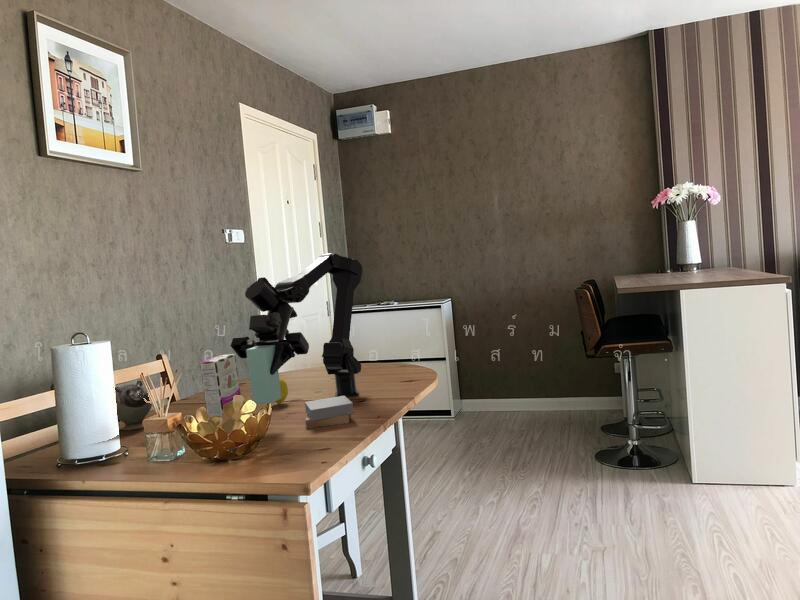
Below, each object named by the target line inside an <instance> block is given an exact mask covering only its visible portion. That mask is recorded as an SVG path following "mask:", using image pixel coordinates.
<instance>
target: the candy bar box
mask: <svg viewBox="0 0 800 600" xmlns="http://www.w3.org/2000/svg"><path fill="white" fill-rule="evenodd" d="M199 367H200V373H201V381H202V382H201V383H202V387H203V393H204V402H205V408H206V413H207V412H208V414H209V417H213V416H222V415H223V405H224V404H226V403H230V402H232V400H233V396H234V395H242V394H241V388H240V379H239V374H238V368H237V367H238V366H237V359H236V353H228V354H227V353H226V354H221V355H220V354H219V355H217V356H214V357H211V358H209V359H206V360H204V361H201V362H200V363H199Z"/></svg>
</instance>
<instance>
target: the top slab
mask: <svg viewBox="0 0 800 600" xmlns="http://www.w3.org/2000/svg"><path fill="white" fill-rule="evenodd" d="M304 405H305V406H304V407H305V413H306V414H308V416H309V417H310V418H311V420H312V421H313V420H319V419H325V418H330V417H336V416H342V415H348V414H349V415H352V414H355V412H354V403H353V401H351V400H350V399H349V398H348V396H339V397H335V396H333V397H327V398H322V399H316V400H315V399H314V400H310V401H304Z"/></svg>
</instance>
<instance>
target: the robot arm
mask: <svg viewBox="0 0 800 600" xmlns="http://www.w3.org/2000/svg"><path fill="white" fill-rule="evenodd" d="M326 274H330V275H332V281H333V284H334V286H335V287H336V288H335V289H336V294H335V305H334V314H333V322H332V323H333V324H332V332H331V338H330V339H329V341H328V342H324V343H323V346H322V348H323V352H322V355H321V357H322V363H323V365H324V367H325V370H326V372H327V375H328V376H329V375H334V381H335V382H334V383H335V390H336V391H335V393H334V394H335V395H334V397H339V396H345V397H352V396H358V395H359V388H357V384H356V376H355V375H356V374H357V375H358V374H359V373H361V371H362V363H360V361H359V360H358V359H357V358H356V357H355V355H354V354H355V352H354V350H355V349H354V347H353V345H352V343H351V341H350V335H351V334H350V333H351V326H352V325H351V323H352V315H353V313H352V312H353V305H354V304H353V303H354V297H355V296H354V294H355V290H356V289H357V287H358V286H359V285H360V283H361V279H362V275H363V265H362V264H361V262H359V260H358V259H356V258H350V257H346V256H343V255H339V254H338V253H334V252H328V253H322V254H321V255H319V256H318V258H317V259H316V260H314V261H313V262H312V263H311V264H309V265H308V266H307V267H306V268H304V269H303V270H302V271H300V272H299V273H298V274H296V275H294V276H292V277H288V278H286V279H283V280H281V281H279V282H277V283H276V284H275V286H273V285H272V284H271V283H270V282H269V280H268V279H267V278H266V277H258V279H257V280H256V281H254V282H253V283H251V285H250V286H248V287H247V288H246V290H245V292H244V296H245V297H246V298H247V300H248V301H249V302H251V303H252V305H254V307H256V308H257V309H258V310H259V311H260V312H267V314H257V315H250V317H249V325H248V329H249V330H250V331H253V332H255V334H254V336H255V337H256V338H257V339H258V340H253V339H251V338H250V337H249V336H246V335H245V336H237V337H236V336H235V337H233V338H232V340H231V343H230V347H231V349H232V350H233V351H234V352H235V354H236V355H237V356H238V357H239V359H247V352H246V350H247V349H250V348H252V347H255V346H266V345H275V355H274V358H273V361H272V365H271V369H270V374H271V375H273V374H274V373H275V372H276V371H277V370H278V371H279V370H280V369H281V367H283V366H284V364H286V363H287V362H288V361H289V360H291V359H292V358H295V357H296V355H297V356H298V355H307V354H308V353H309V349H310V345H309V344H310V343H309V342H308V340H307V339H306V338H305V336H304V335H303V333H302V332H301V331H298V332H296V331H295V332H290V330H289V329H288V326H289V323H290V319H292V318H296V317H298V314H297V312H296V310H295V309H294V307H293V306H291V305H290V304H296V303H301V302H303V301H304V299H306V297H307V296H308V295H309V293H310V289H311V288H312V286H314V285H315V283H317V282H318V281H319V280H320V279H322V278H323V277H325V276H326Z"/></svg>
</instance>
